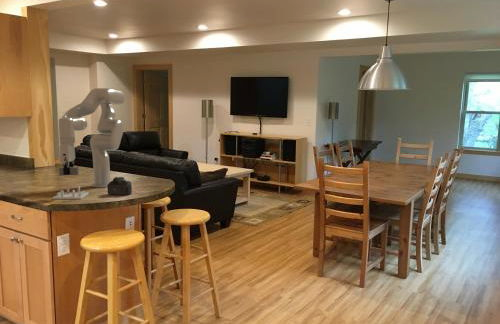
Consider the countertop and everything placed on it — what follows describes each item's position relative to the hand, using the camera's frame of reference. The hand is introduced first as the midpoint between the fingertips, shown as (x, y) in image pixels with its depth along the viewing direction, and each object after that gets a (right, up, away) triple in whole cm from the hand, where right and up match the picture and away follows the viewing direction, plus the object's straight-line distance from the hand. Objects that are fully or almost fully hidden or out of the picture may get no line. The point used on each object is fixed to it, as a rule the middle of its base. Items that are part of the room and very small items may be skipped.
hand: (69, 173), depth 226 cm
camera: (+25, -12, +9) cm, 29 cm away
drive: (0, -1, 0) cm, 1 cm away
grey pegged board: (0, -13, +2) cm, 13 cm away
